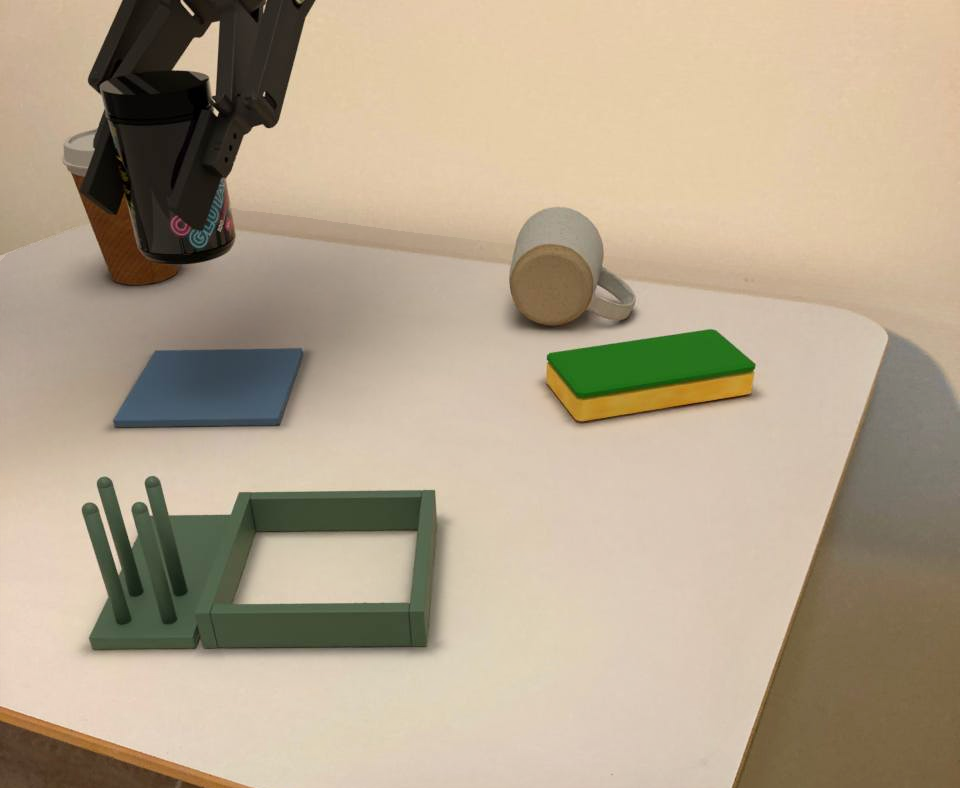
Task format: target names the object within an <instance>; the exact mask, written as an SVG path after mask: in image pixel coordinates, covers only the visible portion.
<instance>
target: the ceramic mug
mask: <svg viewBox="0 0 960 788" xmlns="http://www.w3.org/2000/svg"><path fill="white" fill-rule="evenodd" d="M514 246H515V247H514V250H513V254H512V259H511V264H510V267H509V275H508V284H509V291H510V295H511V298H512V301H513V303H514V305H515V306H516V308H517V309H518V310H519V311H520V312H521V314H522V315H524V317H525V318H527V319H528V320H530V321H532V322H534V323H537V324H539V325H544V326H553V327H554V326H563V325H565V324H568V323H571V322H573V321H575V319H578V318H579V317H580V316H581V315H582V314H583V312H585V311H588V312H590V313H591V314H594V315H596V316H598V317H601V318H604V319H607V320H610V321H623V320H626V319H627V318H628V317H629V316H630V314H631V312H632V311H633V308H634V307H635V304H636V302H637V301H636V300H637V297H636V294H635V292H634V290H633V289H632V288H631V286H630V285H629V284H628V283H627V282H626V281H625V280H623V279H622V278H621V277H620V276H618V275H617V274H616V273H615V272H613V271H611V270H609V269H607V268H606V267H604V266H603V262H604V257H605V256H604V254H605V251H604V242H603V239H602V236H601V235H600V232H599V230H598V228H597V227H596V225H595V224H594V223H593V222H592V221H591V220H590V218H588V217H587V216H585V215H584V214H583V213H581V212H579V211H578V210H576V209H573V208H570V207H565V206H554V207H547V208H543V209H541V210H539V211H537V212H536V213H534V214H532V215H531V216H529V218H528V219H527V220H526V221H525V222H524V224H523V225H522V226H521V229H520V230H519V232H518V234H517V238H516V241H515V245H514ZM597 286H598V287H599V288H602V289H603V290H605V291H607V292H608V293H609V294H611V295H612V296H614V297H615V298H616V299H617V300H618V301H619V303H616V302H614V301H612V300H609V299H607V298H605V297H602V296H600V295H598V294H596V290H597Z"/></svg>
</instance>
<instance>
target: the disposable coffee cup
mask: <svg viewBox="0 0 960 788" xmlns="http://www.w3.org/2000/svg"><path fill="white" fill-rule="evenodd" d="M96 132H97V128H92V129H87V130H84V131H80V132H77V133H73V134H72V135H70V136H68V137H67V138H65V139H64V141H63V145H62V146H63V154H62V156H61V161H62V164H63V165H64V166H66V169H67V171H68V172H69V173H70V174H71V176H72V179H73V182H74V184H75V186H76V187H75V188H76V190H77V192H78V195H79V198H80V200H81V202H82V206H83V207H84V210H85V213H86V216H87V218H88V220H89V223H90V226H91V228H92V231H93V234H94V236H95V239H96V242H97V244H98V246H99V247H98V248H99V249H100V252H101V255H102V257H103V259H104V262H105V265H106V268H107V271H108V272H109V276H110V278H111V280H112V281H113V282H115V283H119V284H123V285H131V286H138V285H140V286H141V285H149V284H153V283H158V282H159V283H160V282H163V281H164V280H167V279H170V278H172V277H173V276H174V275H176V274H177V273H178V271H179V265H167V264H160V263H156V262H153V261H151V260H149V259H147V258H146V257H145V256H144V255H143V254H142V253H141V252H140V250H139V249H138V247H137V243H136V239H135V234H134V230H133V226H132V222H131V217H130V213H129V209H128V204H127V200H126V196H125V193H124V196H123V199H122V202H121V204H120V207H119V210H118V213H117V215H111V214H108V213H106V212H105V211H104V210H102V209H101V208H100V207H98V206H97V205H96V204H94V203H93V202H92V201H91V200H89V199H88V198H87V197H85V196H84V195H83V194H81V193H80V189H81V186H82V184H83V181H84V178H85V175H86V172H87V170H88V167H89V164H90V161H91V159H92V156H93V153H94V150H95V149H94V148H93V140H94V137H95V134H96Z"/></svg>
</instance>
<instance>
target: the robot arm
mask: <svg viewBox="0 0 960 788" xmlns="http://www.w3.org/2000/svg"><path fill="white" fill-rule="evenodd" d="M316 1H317V0H182V1H181V0H121V2H120V4H119V7H118V9H117V11H116V13H115V16H114V18H113V20H112V22H111V25H110V27H109V29H108V32H107V33H106V36H105V38H104V41H103V43H102V45H101V47H100V50H99V52H98V54H97V56H96V58H95V61H94V63H93V65H92V68H91V69H90V72H89V74H88V77H87V83H88V86H90V87H91V88H92V89H94V91H96V92H97V94H99V95H100V96H101V97H102V95H101V91H100V85H101V84H102V83H103V82H105V81H107V80H109V79H112V78H116V77H119V76H124V75H129V74H134V73H141V72H150V71H166V70H174V68H175V67H176V65H177V64H178V63H179V60H180V59H181V58H182V56H184V53H185V52H186V50H187V49H188V48H189V46H190V44H191V43H192V42H193V40H194V39H201V38H202V37H204V35H205V34H206V32H207V31H208V29H209V28H210V26H211V25H212V24H213V23H217V22H218V23H219V26H218V42H217V43H218V45H217V61H216V62H217V63H216V65H217V66H216V78H215V79H216V80H215V95H212V96H211V97H212V99H213V100H212V99H211V98H210V97H208V101H209V103H210V104H211V105H212V106H213V107H214V110H216V111H217V112H218V114H217V115H216V113H215V114H214V113H213V112H212V111H211V110H203V109H202V110H201V113H200V116H199V119H198V121H197V124H196V127H195V130H194V133H193V136H192V138H191V141H190V144H189V147H188V150H187V152H186V155H185V158H184V161H183V164H182V166H181V169H180V172H179V175H178V178H177V180H176V183H175V186H174V189H173V192H172V195H171V197H170V200H169V203H168V206H167V208H168V209H169V210H171V211H172V212H173V213H174V214H175V215H177V216H178V217H179V218H180V219H181V220H183V221H184V222H185V223H186V224H187V225H189V226H190V227H191V228H192V229H193V230H198V231H203V229H204V226H205V223H206V220H207V218H208V215H209V212H210V209H211V206H212V204H213V201H214V198H215V195H216V192H217V190H218V187H219V184H220V181H221V178H226V179H227V178H228V176H229V175H230V174H231V172H232V170H233V168H234V164H235V162H236V159H237V156H238V153H239V150H240V147H241V145H242V142H243V139H244V136H245V135H248V134H249V133H250V132H251V131H252V130H253V128H254V127H258V126H263V127H264V128H265V129H272V128H274V127H276V125H277V124H278V123H279V121H280V118H281V113H282V110H283V106H284V103H285V98H286V95H287V90H288V87H289V83H290V79H291V76H292V71H293V67H294V65H295V60H296V56H297V53H298V48H299V44H300V40H301V36H302V32H303V29H304V25H305V22H306V18H307V16H308V15H309V13H310V11H311V9H312V8H313V6H314V4H315V3H316ZM182 2H184V4H185V5H186V6H187V7H188V9H189V10H190V11H191V12H192V14H193V15H192V14H191V13H190V11H188V9H187V8H186V7H185V5H183V4H182ZM96 129H97V132H96V134H95V137H94V140H93V148H94V149H95V150H94V153H93V156H92V159H91V161H90V164H89V167H88V170H87V172H86V175H85V178H84V181H83V184H82V186H81V189H80V193H81V194H83V195H84V196H85V197H87V198H88V199H89V200H91V201H92V202H93V203H94V204H96V205H97V206H98V207H100V208H101V209H102V210H104V211H105V212H106V213H108V214H111V215H117V213H118V210H119V207H120V204H121V202H122V199H123V196H124V193H125V192H124V187H123V183H122V179H121V174H120V170H119V166H118V162H117V157H116V153H115V149H114V144H113V140H112V136H111V132H110V127H109V123H108V119H107V117H106V115H105V108H104V109H103V112H102V115H101V117H100V120H99V123H98V126H97V127H96Z"/></svg>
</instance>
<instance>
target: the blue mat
mask: <svg viewBox="0 0 960 788" xmlns="http://www.w3.org/2000/svg"><path fill="white" fill-rule="evenodd" d="M303 349H304V348H303V347H293V348H291V347H289V348H287V347H285V348H280V347H279V348H228V349H227V348H224V349H220V348H219V349H165V350H164V349H163V350H162V349H160V350H159V349H158V350H154V352H153V353H152V355H151V356H150V358H149V360H148V362H147V363H146V365H145V367H144V368H143V369H142V371H141V373H140V375H139V377H138V378H137V380H136V381H135V383H134V385H133V386H132V387H131V389H130V391H129V393H128V394H127V396H126V398H125V399H124V401H123V403H122V405H121V406H120V407H119V409H118V411H117V413H116V415H115V416H114V418H113V419H112V422H113V426H114V428H164V427H165V428H169V427H170V428H171V427H239V426H240V427H243V426H245V427H246V426H248V427H249V426H279V425H280V424H281V421H282V418H283V416H284V415H283V414H284V412H285V409H286V406H287V403H288V401H289V397H290V394H291V391H292V388H293V386H294V382H295V380H296V377H297V374H298V371H299V369H300V366H301V362H302V359H303V356H304V350H303Z"/></svg>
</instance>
